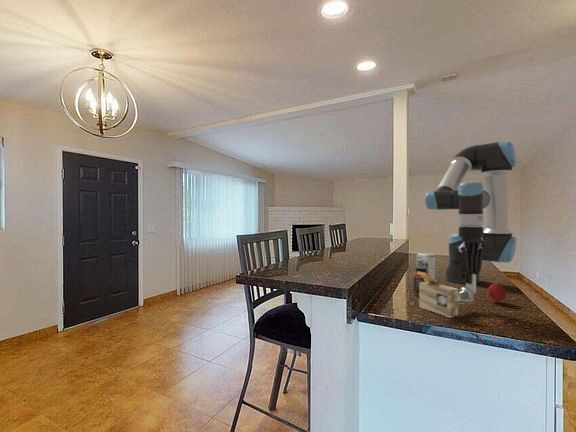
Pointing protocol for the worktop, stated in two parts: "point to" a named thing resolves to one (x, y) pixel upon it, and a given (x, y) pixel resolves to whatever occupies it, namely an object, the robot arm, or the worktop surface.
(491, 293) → the onion
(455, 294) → the block
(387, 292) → the worktop surface
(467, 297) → the pin
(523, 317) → the worktop surface
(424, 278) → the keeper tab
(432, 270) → the syrup box
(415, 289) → the supplement bottle
